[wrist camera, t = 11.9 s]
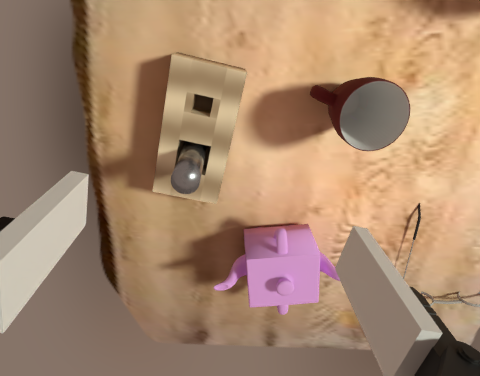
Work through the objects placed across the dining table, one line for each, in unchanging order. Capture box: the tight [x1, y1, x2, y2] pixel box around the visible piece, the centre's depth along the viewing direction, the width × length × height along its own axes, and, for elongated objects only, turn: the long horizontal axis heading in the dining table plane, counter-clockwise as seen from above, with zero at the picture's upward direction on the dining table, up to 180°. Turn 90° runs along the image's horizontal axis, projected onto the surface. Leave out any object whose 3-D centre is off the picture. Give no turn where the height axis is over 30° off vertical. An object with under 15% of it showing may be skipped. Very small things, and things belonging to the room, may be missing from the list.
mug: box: [310, 77, 410, 151], centre depth 42 cm, size 11×8×10 cm
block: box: [152, 53, 247, 204], centre depth 45 cm, size 18×9×5 cm, turn 167°
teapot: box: [214, 224, 340, 314], centre depth 51 cm, size 15×13×11 cm
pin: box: [171, 141, 207, 194], centre depth 42 cm, size 3×3×12 cm
